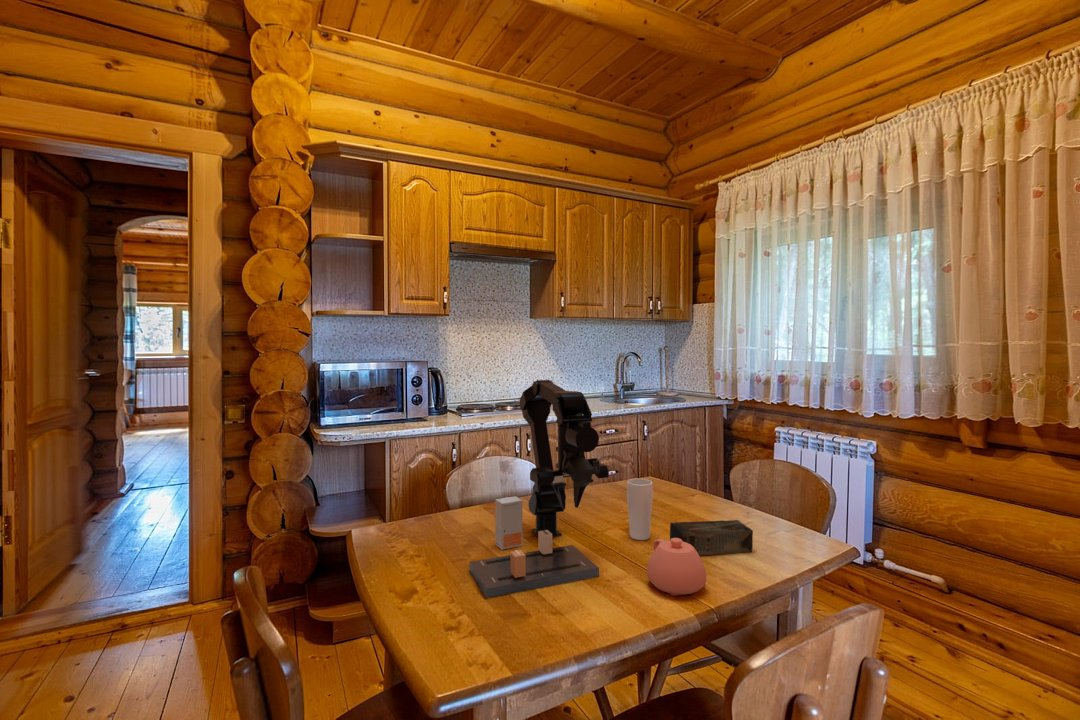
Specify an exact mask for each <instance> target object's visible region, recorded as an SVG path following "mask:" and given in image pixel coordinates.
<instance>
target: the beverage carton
mask: <svg viewBox="0 0 1080 720" xmlns="http://www.w3.org/2000/svg"><path fill="white" fill-rule="evenodd" d="M669 523H670V525H669V540H670V539H671V538H679V539H681V540H682V541H683V542H686V543H688V544H690V545H692V546H693V547H694V548H695V550H696V551H697V553H698V555H699V556H700V557H702V556H719V555H731V554H745V553H746V554H747V553H753V546H754V544H753V543H754V542H753V539H754V538H753V535H754V530H753V529H751V528H750V527H748V526H747V525H746V524H744V523H743V522H742V521H741V520H739V519H733V520H704V521H703V520H702V521H700V520H699V521H681V522H680V521H679V522H678V521H677V522H669Z"/></svg>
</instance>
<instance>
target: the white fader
mask: <svg viewBox="0 0 1080 720" xmlns="http://www.w3.org/2000/svg"><path fill="white" fill-rule="evenodd" d="M537 538H538V540H537V541H538V542H537V543H538V546H537V547H538V548H537V549H538V550H537V551H540V552H541V553H542V554H549V553H552V548H553V537H552V533H550V532H549V531H548V530H543V531H538V537H537Z"/></svg>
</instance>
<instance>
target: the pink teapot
mask: <svg viewBox="0 0 1080 720" xmlns="http://www.w3.org/2000/svg"><path fill="white" fill-rule="evenodd" d="M652 546H653V552H652V553H651V555H650V557H649V560H648V562H647V567H646V576H647V578H648V580H649V581H650V582H651V583H652V584H653V586H654V587H655V588H656V589H658V590H660V591H662V592H665V593H668V594H669V593H670V594H671V595H670V594H669V595H670V596H673V595H674V596H673V597H675V595H676V597H677V595H678V596H680V595H690V594H691V595H692V594H694V593H696V592H698V591H699V590H700V589H702V588H703V587H704V586H705V584H706V582H707V573H706V572H707V571H706V567H705V564H704V562H703V560H702V558H701V556H699V555H698V553H697V551H696V550H695V548H694V547H693V546H692V545H690V544H688V543H686V542H683V541H682V540H681V539H679V538H671V539H670V538H669V540H665V539H664V538H657V539H655V540H654V542H653V545H652Z"/></svg>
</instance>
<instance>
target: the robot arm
mask: <svg viewBox="0 0 1080 720" xmlns="http://www.w3.org/2000/svg"><path fill="white" fill-rule="evenodd" d="M518 403H519V409H520V410H521V413H522V417H523V419H524V420H525V421H526V422H527V424H528V425H529V428H530V435H531V443H532V449H533V450H532V451H533V456H534V457H533V458H534V464H535V465H534V466H535V467H532V469H531V470H530V472H529V480H530V481H532V482H533V483H534V484H533V486H532V493H531V496H530V498H529V500H528V502H527V503H528V509H529V512H530V513H532V515H534V516H535V528H531V533H533V534H534V535H535V536H536V537H537V538H538V531H543V530H548V531H549V532H550V533H552V538H553V537H558V536H562V532H561V531H559V530H558V519H557V517H558V513H559V512H561V513H563V512H564V511H565V510H566V505H567V504H566V502H567V501H566V499H567V495H566V487H567V483H566V482H564V478H571V481H572V483H573V504H574V507H575V508H576V509H578V508H579V506H580V503H581V500H582V497H583V494H584V492H585V490H586V488H587V486H588V485H589V484H590V483H593V482H594V481H595V480H594V479H593V475H594V476H595V477H596V478H598V479H607V478H609V477H610V469H609V467H608V465H606V464H604V463H603V462H600V459H599V458H598V457H591V458H586V455H585V453H590V452H592V451H594V450H595V449H596V448H597V447H598V445H599V442H600V436H599V433H598V432H597V429H595V428H593V427H592V423H591V422H593V417H592V415H593V413H592V411H591V409H590V406H589V404H588V401H587V398H586V396H585V395H584V393H583V392H582V391H577V390H574V391H573V390H566V389H564V388H562V387H561V386H559V385H557V384H555V383H554V382H553V381H552V380H550V379H536V380H535V381H533V382H532V385H531V386H529V387H528V388H526V389H525V390H523V392H522V393H521V396H520V399H519V402H518ZM551 407H552V409H551ZM551 410H552V412H553V413H554V415H555V417H556V420H555V423H556V424H557V446H555V452H557V463H555V468H556V469H554V465H553V457H552V451H551V444H550V437H549V431H548V424H547V421H548V418H549V416H550V414H551Z"/></svg>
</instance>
